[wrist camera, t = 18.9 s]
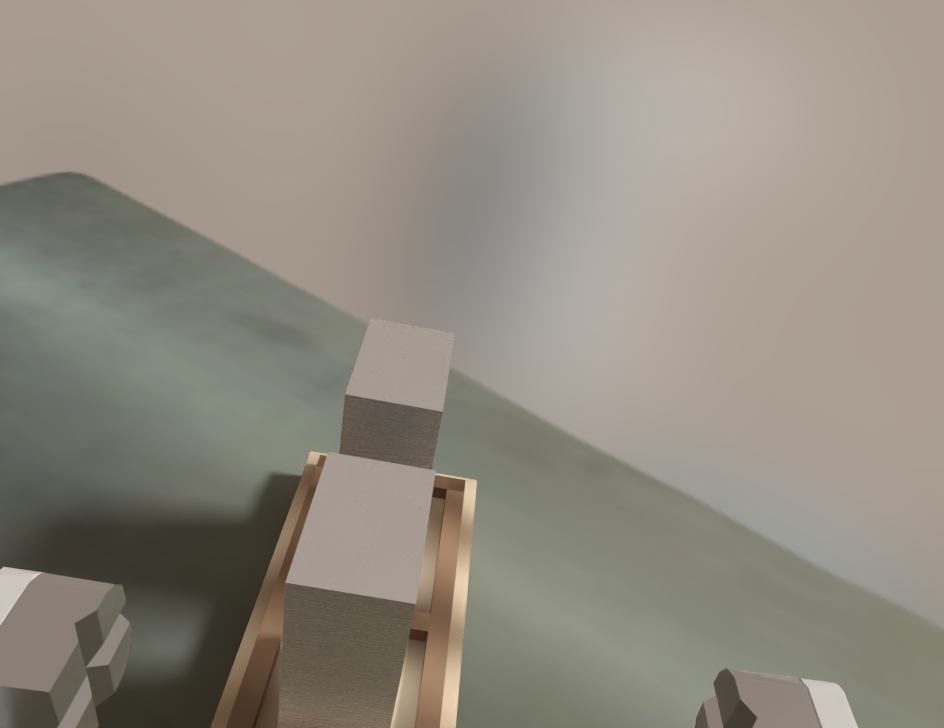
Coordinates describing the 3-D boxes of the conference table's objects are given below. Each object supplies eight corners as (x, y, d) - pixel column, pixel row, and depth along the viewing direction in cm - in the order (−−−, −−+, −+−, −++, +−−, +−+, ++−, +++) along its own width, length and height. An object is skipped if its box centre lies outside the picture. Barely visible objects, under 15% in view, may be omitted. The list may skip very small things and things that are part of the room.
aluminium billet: (376, 796, 30) (416, 604, 23) (274, 780, 30) (285, 582, 23) (397, 661, 35) (435, 470, 28) (311, 647, 35) (328, 452, 28)
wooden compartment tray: (432, 923, 29) (444, 891, 27) (165, 883, 28) (161, 849, 27) (471, 503, 47) (479, 470, 45) (308, 475, 46) (311, 441, 45)
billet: (406, 598, 38) (442, 411, 31) (326, 585, 38) (345, 394, 31) (420, 511, 43) (455, 333, 36) (350, 498, 43) (370, 317, 36)
